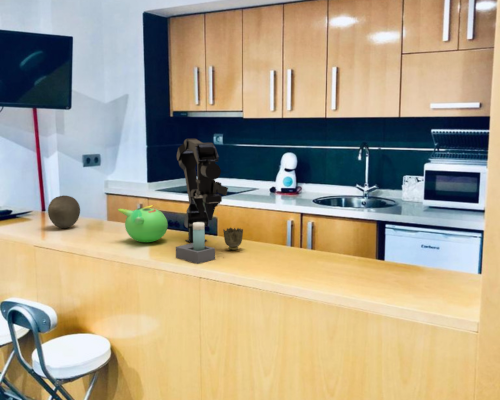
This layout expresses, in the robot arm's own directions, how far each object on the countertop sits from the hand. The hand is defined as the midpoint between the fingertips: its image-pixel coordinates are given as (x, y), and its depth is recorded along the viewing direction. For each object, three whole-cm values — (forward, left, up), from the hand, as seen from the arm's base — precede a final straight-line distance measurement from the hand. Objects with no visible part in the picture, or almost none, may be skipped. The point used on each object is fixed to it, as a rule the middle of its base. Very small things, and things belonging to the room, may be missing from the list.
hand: (206, 218), depth 200 cm
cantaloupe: (-78, -17, -12) cm, 81 cm away
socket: (+7, -11, -12) cm, 18 cm away
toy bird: (-28, -8, -12) cm, 32 cm away
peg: (+9, -12, -12) cm, 19 cm away
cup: (+8, +6, -12) cm, 16 cm away
